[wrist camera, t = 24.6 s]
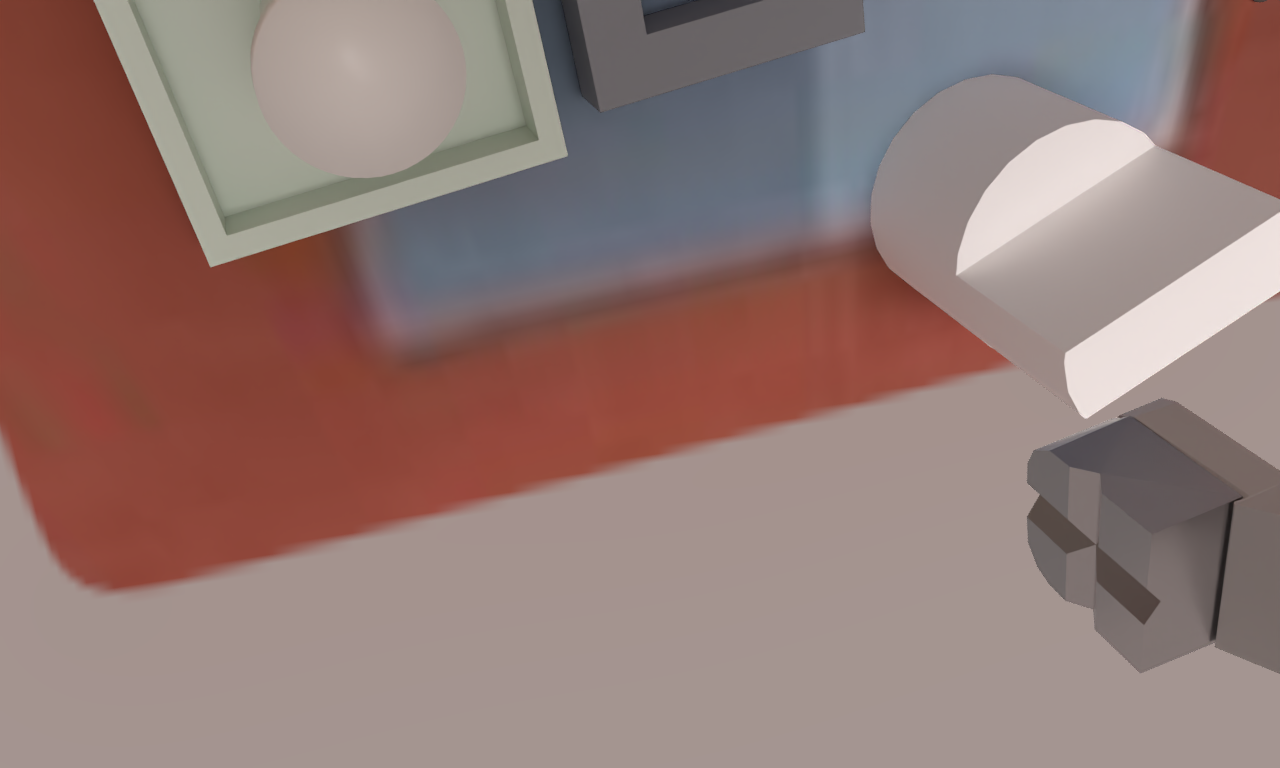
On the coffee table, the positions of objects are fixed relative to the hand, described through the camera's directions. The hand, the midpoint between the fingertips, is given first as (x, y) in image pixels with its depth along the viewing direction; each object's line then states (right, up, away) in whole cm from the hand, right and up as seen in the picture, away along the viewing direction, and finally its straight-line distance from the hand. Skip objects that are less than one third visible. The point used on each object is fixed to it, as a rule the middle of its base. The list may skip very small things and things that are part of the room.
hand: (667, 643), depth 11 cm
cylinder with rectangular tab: (+13, +10, +35) cm, 39 cm away
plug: (-9, +13, +23) cm, 29 cm away
